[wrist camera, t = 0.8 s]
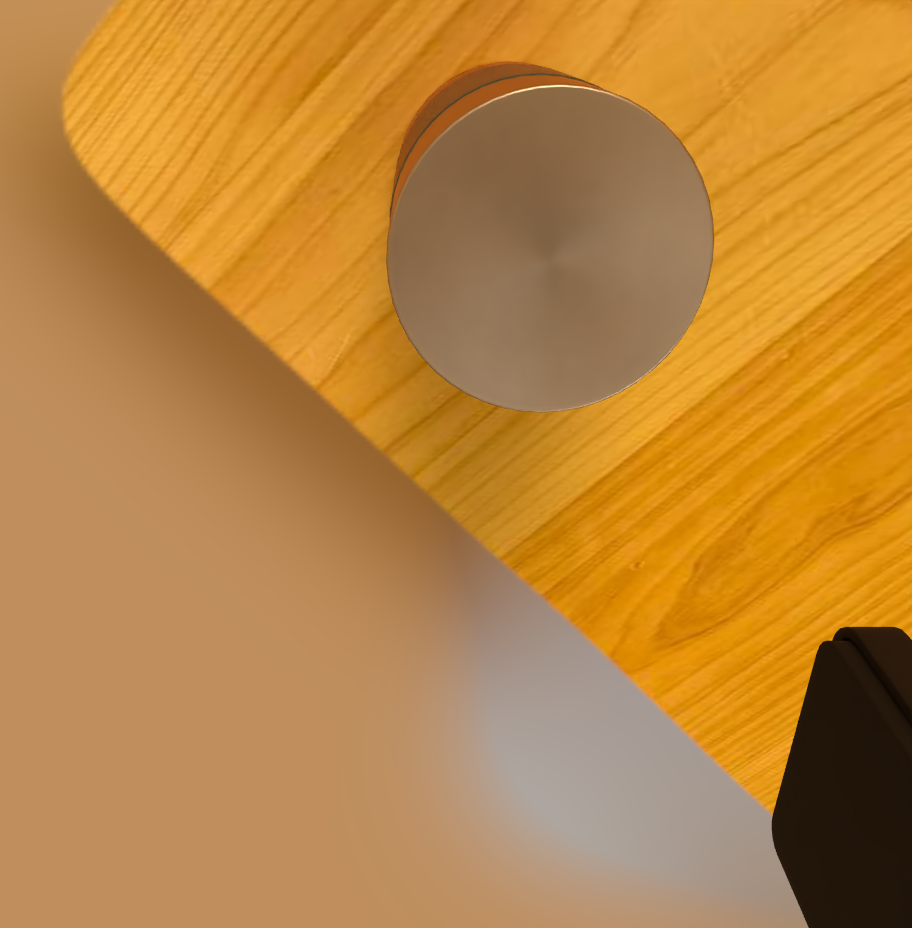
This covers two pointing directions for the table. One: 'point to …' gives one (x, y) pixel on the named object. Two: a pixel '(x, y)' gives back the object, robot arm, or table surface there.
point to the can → (544, 238)
